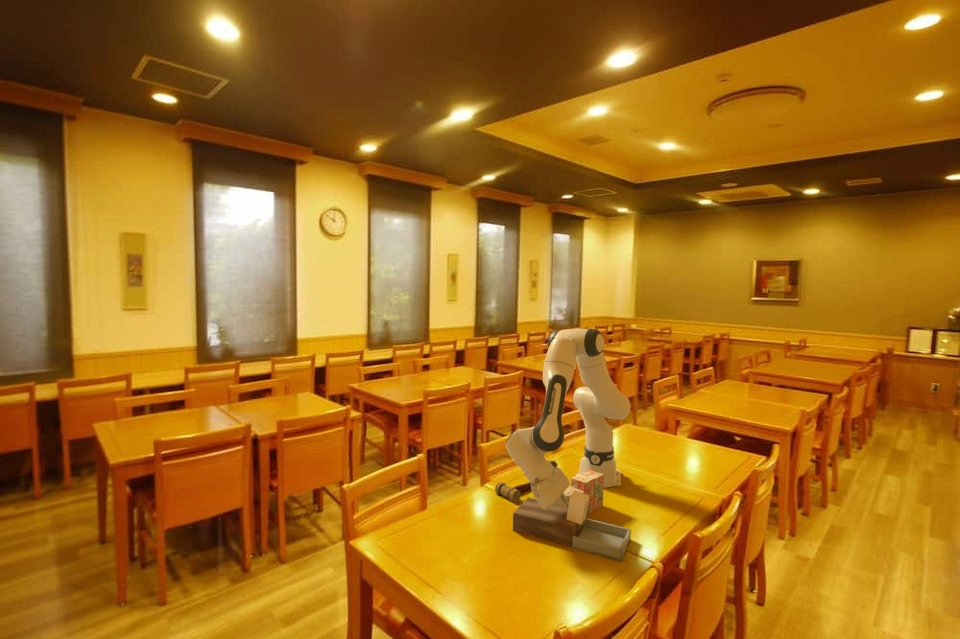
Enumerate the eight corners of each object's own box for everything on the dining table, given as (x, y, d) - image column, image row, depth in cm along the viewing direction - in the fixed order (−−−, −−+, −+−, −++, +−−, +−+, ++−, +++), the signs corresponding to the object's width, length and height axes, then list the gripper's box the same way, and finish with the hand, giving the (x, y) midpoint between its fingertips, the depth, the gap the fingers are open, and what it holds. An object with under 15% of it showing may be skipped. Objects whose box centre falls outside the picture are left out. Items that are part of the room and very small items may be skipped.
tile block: (570, 512, 155) (574, 490, 154) (585, 518, 153) (589, 495, 152) (566, 519, 151) (569, 496, 150) (581, 525, 148) (585, 501, 148)
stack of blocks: (568, 525, 160) (569, 490, 159) (554, 518, 164) (555, 484, 164) (603, 506, 175) (604, 473, 174) (588, 500, 179) (589, 468, 178)
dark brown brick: (527, 513, 167) (527, 497, 167) (582, 528, 158) (583, 510, 157) (512, 530, 156) (513, 512, 155) (571, 546, 146) (571, 528, 146)
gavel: (532, 473, 196) (550, 481, 189) (531, 484, 197) (549, 492, 189) (495, 483, 183) (512, 491, 175) (494, 494, 183) (512, 503, 175)
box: (584, 527, 158) (584, 517, 158) (630, 539, 151) (630, 529, 151) (572, 547, 146) (572, 537, 145) (621, 561, 139) (622, 550, 139)
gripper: (535, 479, 147) (564, 517, 143) (556, 459, 165) (583, 492, 161) (522, 490, 149) (550, 528, 145) (544, 469, 167) (570, 502, 163)
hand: (568, 509), depth 153 cm, fingers closed
